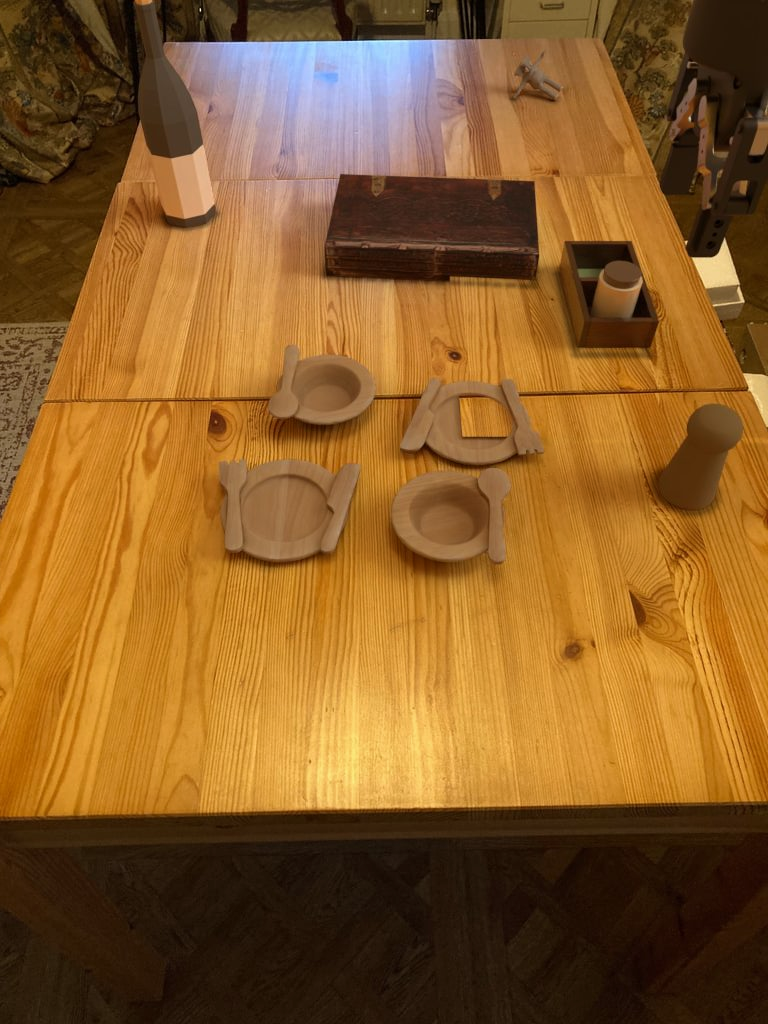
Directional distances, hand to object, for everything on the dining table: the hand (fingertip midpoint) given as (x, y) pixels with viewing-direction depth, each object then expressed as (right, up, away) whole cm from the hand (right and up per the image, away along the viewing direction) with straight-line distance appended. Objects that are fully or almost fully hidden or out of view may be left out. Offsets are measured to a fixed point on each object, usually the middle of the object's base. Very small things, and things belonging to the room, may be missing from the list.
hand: (685, 222), depth 57 cm
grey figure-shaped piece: (+6, +56, +86) cm, 103 cm away
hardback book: (-16, +18, +55) cm, 60 cm away
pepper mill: (+10, -19, +26) cm, 34 cm away
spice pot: (+6, +3, +42) cm, 42 cm away
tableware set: (-23, -17, +28) cm, 40 cm away
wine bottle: (-52, +24, +61) cm, 84 cm away
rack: (+6, +5, +45) cm, 46 cm away
